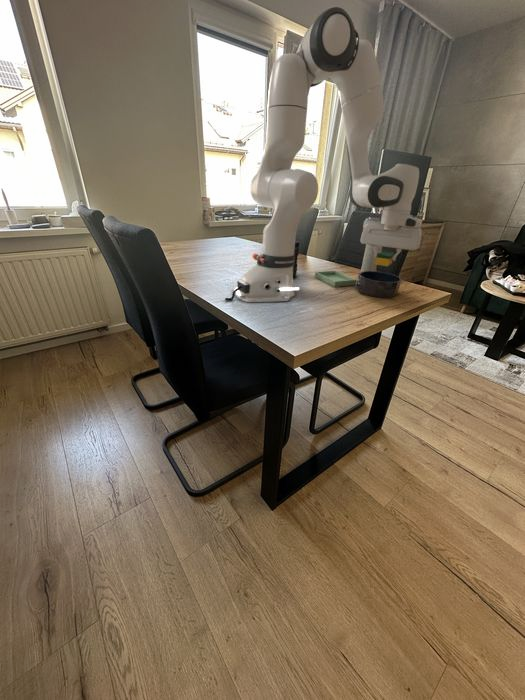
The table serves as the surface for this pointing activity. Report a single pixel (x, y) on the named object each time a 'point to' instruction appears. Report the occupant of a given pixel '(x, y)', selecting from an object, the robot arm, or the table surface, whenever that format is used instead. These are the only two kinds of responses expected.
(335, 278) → the dish
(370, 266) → the spray can
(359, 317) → the table surface
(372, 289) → the bowl
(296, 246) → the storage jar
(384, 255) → the sponge
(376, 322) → the table surface
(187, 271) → the table surface
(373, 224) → the robot arm
